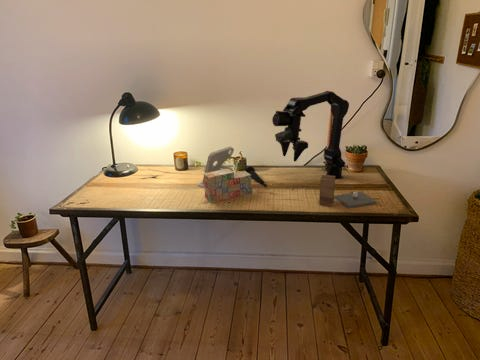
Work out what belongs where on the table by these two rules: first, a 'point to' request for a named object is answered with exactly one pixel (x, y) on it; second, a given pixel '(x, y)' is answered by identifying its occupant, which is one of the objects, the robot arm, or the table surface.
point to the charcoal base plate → (355, 200)
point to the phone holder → (220, 158)
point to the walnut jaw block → (327, 190)
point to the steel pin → (355, 195)
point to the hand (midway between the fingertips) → (289, 158)
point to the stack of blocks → (226, 184)
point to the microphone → (254, 175)
